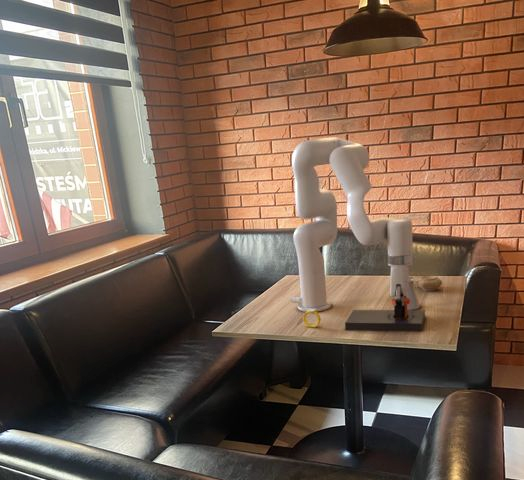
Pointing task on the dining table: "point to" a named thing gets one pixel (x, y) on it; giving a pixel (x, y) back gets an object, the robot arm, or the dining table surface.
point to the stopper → (406, 302)
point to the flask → (412, 297)
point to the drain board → (385, 320)
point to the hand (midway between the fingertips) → (400, 313)
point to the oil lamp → (427, 282)
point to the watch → (315, 314)
